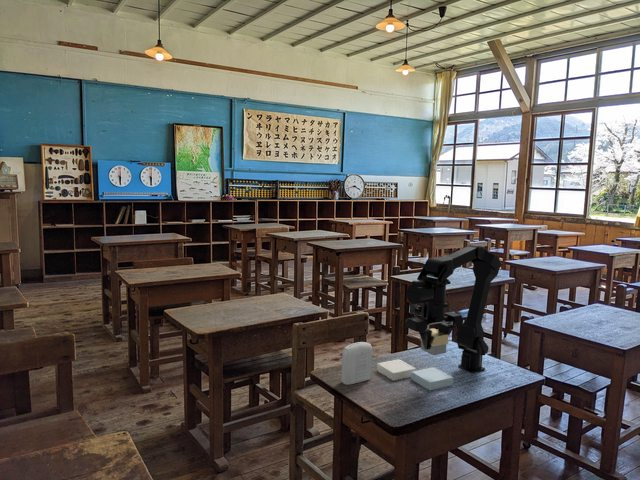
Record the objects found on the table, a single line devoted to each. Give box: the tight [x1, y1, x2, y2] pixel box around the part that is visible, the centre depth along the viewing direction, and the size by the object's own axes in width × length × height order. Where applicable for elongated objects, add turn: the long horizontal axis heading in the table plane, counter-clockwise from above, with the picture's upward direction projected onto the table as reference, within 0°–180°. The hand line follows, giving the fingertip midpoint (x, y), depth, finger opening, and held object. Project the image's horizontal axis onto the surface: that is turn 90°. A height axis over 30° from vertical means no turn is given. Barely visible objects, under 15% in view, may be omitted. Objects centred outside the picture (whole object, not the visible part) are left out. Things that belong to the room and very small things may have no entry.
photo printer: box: [341, 341, 373, 386], centre depth 152 cm, size 10×4×12 cm, turn 123°
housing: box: [419, 327, 449, 356], centre depth 151 cm, size 7×6×6 cm
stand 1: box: [376, 359, 417, 382], centre depth 159 cm, size 9×9×2 cm
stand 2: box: [410, 366, 454, 391], centre depth 152 cm, size 9×9×2 cm
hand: (433, 347), depth 151 cm, fingers closed on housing, 5 cm apart
